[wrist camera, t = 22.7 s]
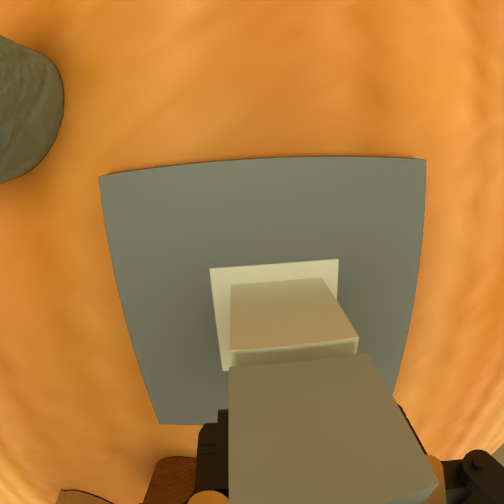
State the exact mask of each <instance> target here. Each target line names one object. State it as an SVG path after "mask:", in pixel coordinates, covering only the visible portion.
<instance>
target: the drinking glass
mask: <svg viewBox="0 0 504 504" xmlns="http://www.w3.org/2000/svg"><path fill="white" fill-rule="evenodd" d="M63 94H64V92H63V86H62V83H61V79H60V76H59V74H58V71H57V69H56V67H55V65H54V64H53V63H52V62H51V61H50V60H49V59H48V58H47V57H45V56H44V55H42V54H40V53H38V52H36V51H34V50H32V49H29V48H26V47H24V46H22V45H20V44H16V43H15V42H13V41H12V40H9V39H7V38H5V37H3V36H1V35H0V184H2V183H4V182H7V181H9V180H12V179H14V178H17V177H19V176H21V175H23V174H25V173H27V172H28V171H30V170H31V169H32V168H34V167H35V166H36V165H37V164H38V163H39V162H40V161H41V160H42V159H43V158H44V156H45V155H46V154H47V152H48V151H49V149H50V147H51V146H52V144H53V142H54V141H55V138H56V135H57V132H58V129H59V126H60V124H61V117H62V116H63V102H64V98H63Z"/></svg>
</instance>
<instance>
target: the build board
mask: <svg viewBox="0 0 504 504" xmlns="http://www.w3.org/2000/svg"><path fill="white" fill-rule="evenodd" d="M99 184H100V192H101V200H102V207H103V214H104V220H105V226H106V232H107V238H108V244H109V249H110V254H111V259H112V264H113V269H114V274H115V278H116V283H117V287H118V292H119V296H120V300H121V304H122V308H123V312H124V316H125V320H126V323H127V327H128V331H129V334H130V338H131V341H132V345H133V348H134V351H135V355H136V358H137V361H138V364H139V368H140V371H141V374H142V377H143V380H144V383H145V386H146V389H147V391H148V394H149V397H150V400H151V403H152V405H153V408H154V411H155V413H156V416H157V419H158V421H159V424H175V425H204V424H205V423H217V420H218V409H229V367H232V366H231V358H230V302H231V284H243V283H257V282H270V281H282V280H295V279H307V278H318V277H322V278H323V280H324V281H325V283H326V284H327V286H328V287H329V289H330V291H331V292H332V294H333V295H334V297H335V299H336V300H337V302H338V303H339V305H340V307H341V308H342V310H343V311H344V313H345V315H346V316H347V318H348V320H349V321H350V323H351V324H352V326H353V328H354V329H355V331H356V333H357V334H358V336H359V341H358V348H357V354H361V353H368V354H369V356H370V358H371V360H372V361H373V363H374V365H375V366H376V368H377V370H378V371H379V373H380V375H381V377H382V378H383V380H384V382H385V384H386V385H387V387H388V389H389V391H390V392H391V394H392V393H393V390H394V387H395V383H396V379H397V376H398V372H399V368H400V364H401V360H402V356H403V352H404V348H405V343H406V339H407V334H408V330H409V325H410V320H411V314H412V309H413V303H414V298H415V292H416V285H417V278H418V271H419V264H420V256H421V247H422V237H423V225H424V211H425V192H426V160H424V159H416V158H400V157H373V156H297V157H270V158H251V159H235V160H221V161H209V162H198V163H188V164H179V165H170V166H161V167H153V168H146V169H138V170H131V171H124V172H118V173H111V174H106V175H102V176H99Z"/></svg>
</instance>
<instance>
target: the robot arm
mask: <svg viewBox="0 0 504 504" xmlns="http://www.w3.org/2000/svg"><path fill="white" fill-rule="evenodd" d="M397 405H398V404H397ZM398 406H399V408H400V410H401V412H402V414H403V415H404V417H405V419H406V421H407V423H408V425H409V426H410V428H411V430H412V432H413V434H414V436H415V437H416V439H417V441H418V443H419V445H420V447H421V449H422V450H423V452H424V454H425V456H426V458H427V460H428V462H429V464H430V466H431V468H432V470H433V472H434V474H435V475H436V477H437V479H438V481H439V484H438V486H437V487H436V488H435V489H434V491H433V492H432V493H431V494H430V496H429V497H428V498H427V499H426V500H425V501H424V503H423V504H504V467H503V466H502V465H501V464H500V463H499V462H498V461H496V460H495V459H494V458H493V457H492V456H491V455H490V454H489V453H487V452H486V451H483V450H473V451H470V452H469V453H467V454H466V455H465V457H464V458H463V459H460V460H451V461H440V460H439V459H438V458H436V457H434V456H432V455H428V454H427V453H426V451H425V449H424V447H423V446H422V444H421V442H420V440H419V438H418V436H417V434H416V433H415V431H414V429H413V427H412V425H410V422H409V420H408V418H406V415H405V413H404V411H403V409H402V407H401V406H400V405H398ZM228 434H229V409H218V420H217V423H205V424H204V426H203V427H202V429H201V430H200V432H199V436H198V448H197V459H196V472H195V485H194V491H193V493H192V495H191V496H190V497H189V499H187V500H186V501H185V502H183V503H181V504H229V441H228ZM56 504H111V503H109V502H107V501H105V500H103V499H100V498H98V497H95V496H93V495H90V494H87V493H83V492H79V491H62V490H60V493H59V496H58V499H57V502H56ZM140 504H145V503H140Z"/></svg>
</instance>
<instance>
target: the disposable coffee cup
mask: <svg viewBox="0 0 504 504" xmlns="http://www.w3.org/2000/svg"><path fill="white" fill-rule="evenodd" d="M195 472H196V459H193V458H186V457H170V458H166V459H162V460H161V461H159V462H158V463H157V465H156V468H155V471H154V473H153V476H152V479H151V481H150V484H149V487H148V490H147V492H146V495H145V498H144V501H143V503H145V504H181V503H183V502H185V501H186V500H187V499H189V497H190V496H191V495H192V493H193V491H194V485H195Z"/></svg>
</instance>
